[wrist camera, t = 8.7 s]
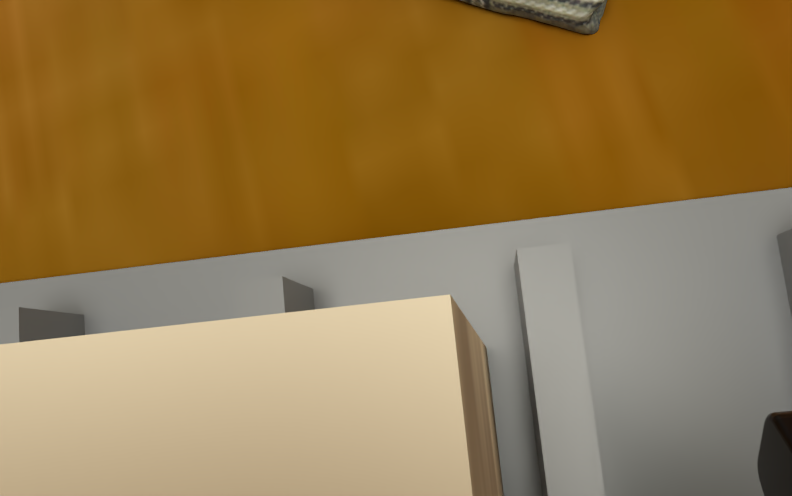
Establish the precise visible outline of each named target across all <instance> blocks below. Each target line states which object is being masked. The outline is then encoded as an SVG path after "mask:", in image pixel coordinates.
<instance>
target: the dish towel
mask: <svg viewBox="0 0 792 496" xmlns="http://www.w3.org/2000/svg"><path fill="white" fill-rule="evenodd" d="M461 1H463V2H466V3H469V4H472V5H475V6H478V7H481V8H485V9H488V10H491V11H495V12H499V13H503V14H510V15H516V16H520V17H524V18H528V19H532V20H536V21H540V22H543V23H547V24H551V25H554V26H558V27H561V28H565V29H568V30H571V31H575V32H578V33H581V34H594V33H595V32H597V31H598V29H599V24H600V19H601V17H602V16H603V13H604V9H605V5H606V2H607V0H461Z"/></svg>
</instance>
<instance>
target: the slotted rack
mask: <svg viewBox="0 0 792 496" xmlns="http://www.w3.org/2000/svg"><path fill="white" fill-rule="evenodd" d="M449 294H450V295H451V296H452V298H453V299H454V301H455V302H456V304H457V305H458V307H459V308H460V309H461V311H462V312H463V314H464V315H465V317H466V318H467V320H468V321H469V323H470V324H471V326H472V327H473V329H474V330H475V331H476V333H477V334H478V336H479V337H480V339H481V340H482V342H483V343H484V345H485V346H486V348H487V355H488V364H489V372H490V381H491V389H492V398H493V406H494V415H495V423H496V432H497V440H498V449H499V457H500V466H501V474H502V483H503V491H504V496H764V494H763V491H762V487H761V484H760V480H759V476H758V469H757V460H758V454H759V448H760V443H761V437H762V432H763V426H764V422H765V419H766V417H767V416H768V415H769V414H770V413H773V412H781V411H792V188H784V189H776V190H768V191H759V192H751V193H743V194H735V195H726V196H718V197H710V198H702V199H693V200H685V201H677V202H669V203H660V204H652V205H644V206H636V207H627V208H619V209H611V210H602V211H594V212H586V213H578V214H569V215H561V216H553V217H545V218H536V219H528V220H520V221H512V222H503V223H495V224H487V225H479V226H470V227H462V228H454V229H446V230H437V231H429V232H421V233H413V234H404V235H396V236H388V237H380V238H371V239H363V240H355V241H347V242H338V243H330V244H322V245H314V246H305V247H297V248H289V249H281V250H272V251H264V252H256V253H248V254H239V255H231V256H223V257H215V258H206V259H198V260H190V261H182V262H173V263H165V264H157V265H149V266H140V267H132V268H124V269H115V270H107V271H99V272H91V273H82V274H74V275H66V276H58V277H49V278H41V279H33V280H25V281H16V282H8V283H0V344H9V343H18V342H27V341H36V340H45V339H54V338H63V337H72V336H81V335H90V334H99V333H108V332H117V331H126V330H135V329H144V328H153V327H162V326H171V325H180V324H189V323H198V322H207V321H216V320H225V319H234V318H243V317H252V316H261V315H270V314H279V313H288V312H297V311H306V310H315V309H324V308H333V307H342V306H351V305H360V304H369V303H378V302H387V301H396V300H405V299H414V298H423V297H431V296H440V295H449Z"/></svg>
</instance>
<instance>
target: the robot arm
mask: <svg viewBox="0 0 792 496" xmlns="http://www.w3.org/2000/svg"><path fill="white" fill-rule="evenodd" d="M757 469H758V476H759V480H760V484H761V487H762V491H763V494H764V496H792V411H781V412H773V413H770V414H769V415H768V416H767V417H766V419H765V422H764V426H763V432H762V437H761V443H760V448H759V454H758V460H757Z"/></svg>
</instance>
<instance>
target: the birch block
mask: <svg viewBox="0 0 792 496" xmlns="http://www.w3.org/2000/svg"><path fill="white" fill-rule="evenodd" d="M0 496H504V491H503V483H502V474H501V466H500V457H499V449H498V440H497V432H496V423H495V415H494V406H493V398H492V389H491V381H490V372H489V364H488V355H487V348H486V346H485V345H484V343H483V342H482V340H481V339H480V337H479V336H478V334H477V333H476V331H475V330H474V329H473V327H472V326H471V324H470V323H469V321H468V320H467V318H466V317H465V315H464V314H463V312H462V311H461V309H460V308H459V307H458V305H457V304H456V302H455V301H454V299H453V298H452V296H451V295H450V294H449V295H440V296H431V297H423V298H414V299H405V300H396V301H387V302H378V303H369V304H360V305H351V306H342V307H333V308H324V309H315V310H306V311H297V312H288V313H279V314H270V315H261V316H252V317H243V318H234V319H225V320H216V321H207V322H198V323H189V324H180V325H171V326H162V327H153V328H144V329H135V330H126V331H117V332H108V333H99V334H90V335H81V336H72V337H63V338H54V339H45V340H36V341H27V342H18V343H9V344H0Z"/></svg>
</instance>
